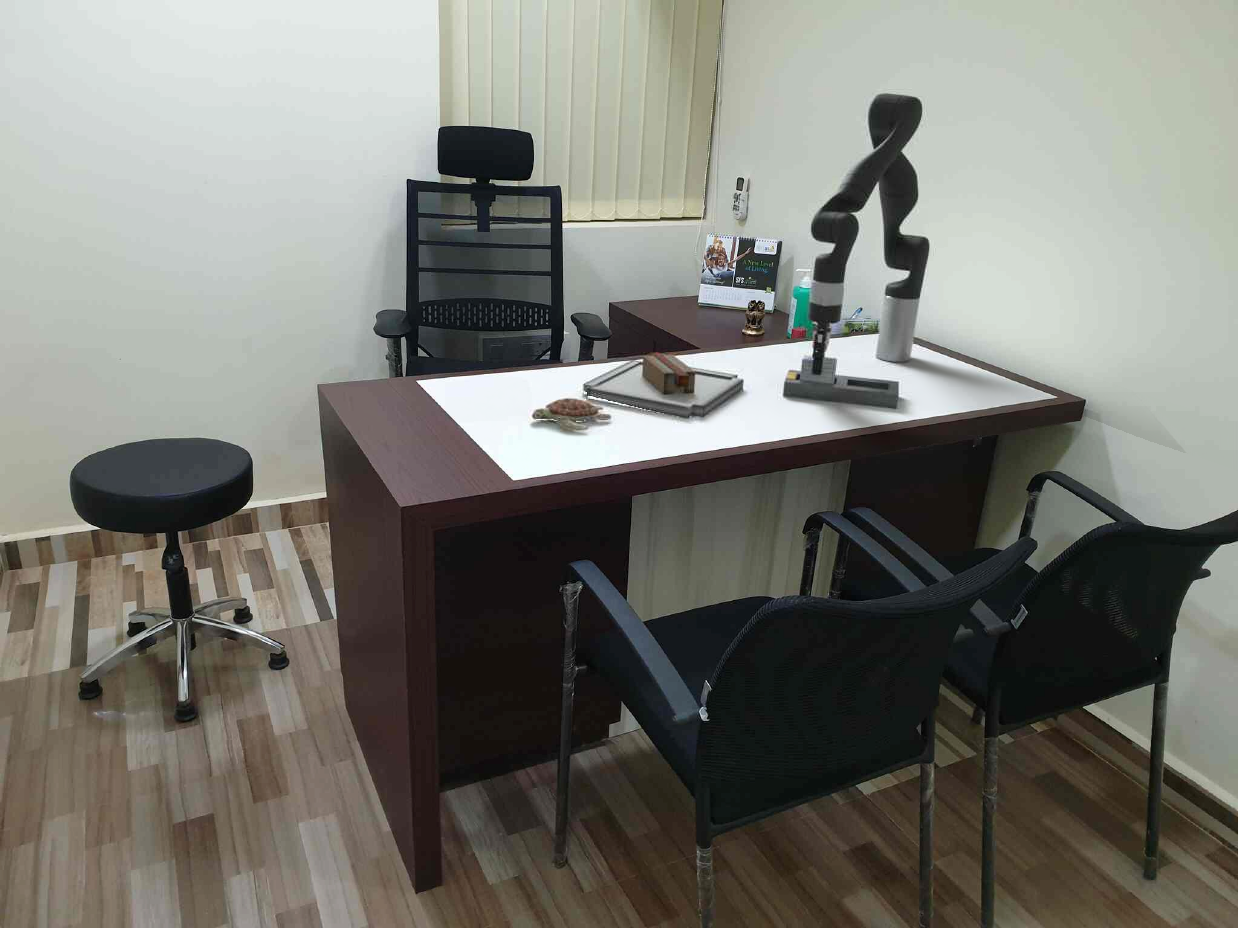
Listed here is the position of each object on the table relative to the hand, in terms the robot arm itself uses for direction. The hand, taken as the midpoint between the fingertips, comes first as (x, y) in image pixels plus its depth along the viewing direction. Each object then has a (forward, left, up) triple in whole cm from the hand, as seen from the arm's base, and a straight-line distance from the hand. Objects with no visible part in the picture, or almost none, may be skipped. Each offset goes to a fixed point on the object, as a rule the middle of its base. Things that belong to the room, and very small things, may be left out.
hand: (817, 370), depth 217 cm
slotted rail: (0, +6, -6) cm, 8 cm away
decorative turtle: (+40, -48, -6) cm, 63 cm away
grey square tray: (+13, -34, -6) cm, 37 cm away
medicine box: (0, 0, -6) cm, 6 cm away
